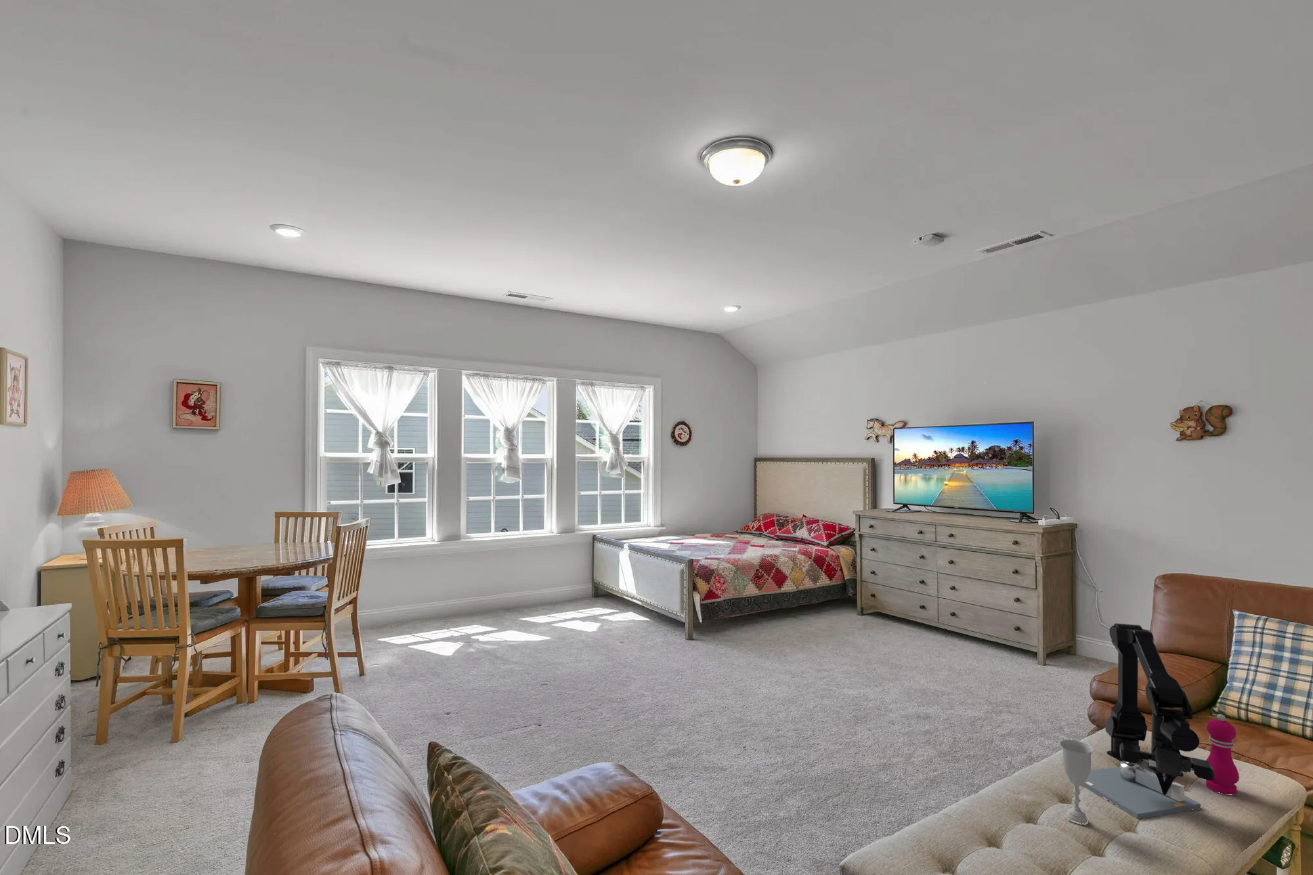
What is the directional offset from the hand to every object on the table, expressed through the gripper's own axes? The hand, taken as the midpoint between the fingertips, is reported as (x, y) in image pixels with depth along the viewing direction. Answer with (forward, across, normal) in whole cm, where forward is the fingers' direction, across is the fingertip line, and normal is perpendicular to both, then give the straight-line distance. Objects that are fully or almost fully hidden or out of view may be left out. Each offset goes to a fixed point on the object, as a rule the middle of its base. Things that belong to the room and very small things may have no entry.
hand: (1164, 793), depth 167 cm
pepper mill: (+3, +14, +17) cm, 22 cm away
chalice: (+3, -19, -20) cm, 28 cm away
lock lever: (+1, -2, +5) cm, 6 cm away
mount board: (+3, -6, +2) cm, 7 cm away
